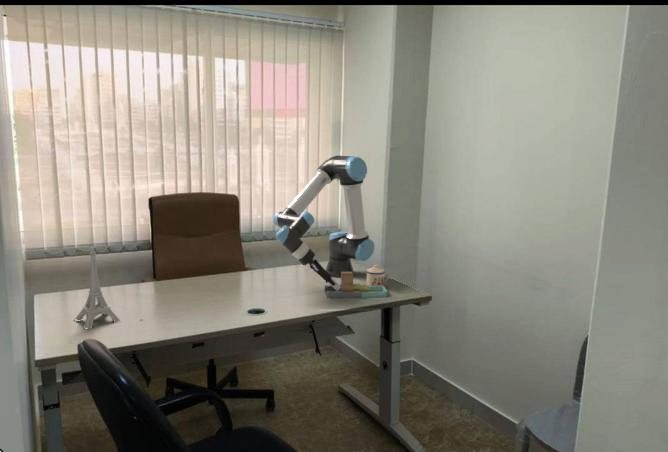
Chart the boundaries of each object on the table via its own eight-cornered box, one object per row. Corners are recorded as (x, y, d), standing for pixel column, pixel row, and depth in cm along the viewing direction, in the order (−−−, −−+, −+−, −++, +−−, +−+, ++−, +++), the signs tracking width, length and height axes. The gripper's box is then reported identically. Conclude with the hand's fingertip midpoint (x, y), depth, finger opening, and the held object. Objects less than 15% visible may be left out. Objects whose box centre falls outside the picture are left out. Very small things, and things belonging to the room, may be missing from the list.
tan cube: (351, 292, 235) (351, 284, 235) (359, 292, 236) (360, 283, 235) (352, 294, 231) (352, 286, 231) (361, 294, 232) (361, 286, 231)
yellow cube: (359, 293, 236) (360, 285, 235) (368, 293, 236) (368, 285, 236) (361, 296, 232) (361, 287, 231) (369, 295, 232) (369, 287, 232)
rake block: (340, 292, 235) (341, 271, 233) (351, 292, 236) (351, 271, 234) (342, 295, 230) (342, 274, 229) (352, 295, 231) (353, 274, 229)
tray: (357, 292, 239) (357, 286, 238) (383, 291, 240) (383, 285, 240) (361, 298, 229) (361, 292, 228) (387, 298, 230) (388, 292, 230)
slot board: (324, 292, 238) (324, 285, 237) (357, 291, 240) (357, 284, 239) (326, 300, 226) (326, 292, 226) (361, 299, 228) (361, 292, 227)
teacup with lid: (372, 291, 240) (372, 268, 238) (362, 286, 248) (363, 263, 246) (392, 288, 246) (393, 265, 244) (382, 283, 254) (383, 261, 252)
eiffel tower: (73, 320, 197) (67, 246, 192) (108, 312, 206) (103, 242, 201) (85, 330, 188) (79, 252, 182) (121, 321, 197) (116, 247, 192)
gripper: (297, 256, 234) (332, 290, 238) (298, 263, 221) (334, 298, 225) (308, 245, 233) (343, 279, 238) (310, 251, 220) (346, 287, 225)
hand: (339, 288), depth 232 cm, fingers closed
